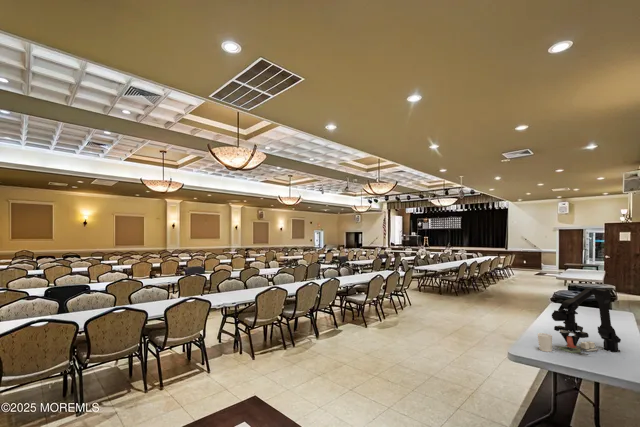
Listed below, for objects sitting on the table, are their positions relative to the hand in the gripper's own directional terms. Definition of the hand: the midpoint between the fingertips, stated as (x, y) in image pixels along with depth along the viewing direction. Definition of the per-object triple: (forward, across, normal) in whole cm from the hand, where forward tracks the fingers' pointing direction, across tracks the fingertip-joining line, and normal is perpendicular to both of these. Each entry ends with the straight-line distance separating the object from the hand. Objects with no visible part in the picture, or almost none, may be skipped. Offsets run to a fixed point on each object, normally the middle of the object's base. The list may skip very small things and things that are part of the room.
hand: (571, 344), depth 208 cm
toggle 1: (+3, -2, -10) cm, 10 cm away
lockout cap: (+1, 0, 0) cm, 1 cm away
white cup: (+4, +6, +15) cm, 17 cm away
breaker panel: (+4, +1, -12) cm, 13 cm away
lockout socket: (+4, +1, -1) cm, 4 cm away
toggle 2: (+3, -2, -14) cm, 15 cm away
